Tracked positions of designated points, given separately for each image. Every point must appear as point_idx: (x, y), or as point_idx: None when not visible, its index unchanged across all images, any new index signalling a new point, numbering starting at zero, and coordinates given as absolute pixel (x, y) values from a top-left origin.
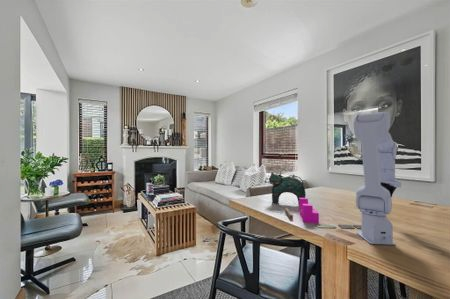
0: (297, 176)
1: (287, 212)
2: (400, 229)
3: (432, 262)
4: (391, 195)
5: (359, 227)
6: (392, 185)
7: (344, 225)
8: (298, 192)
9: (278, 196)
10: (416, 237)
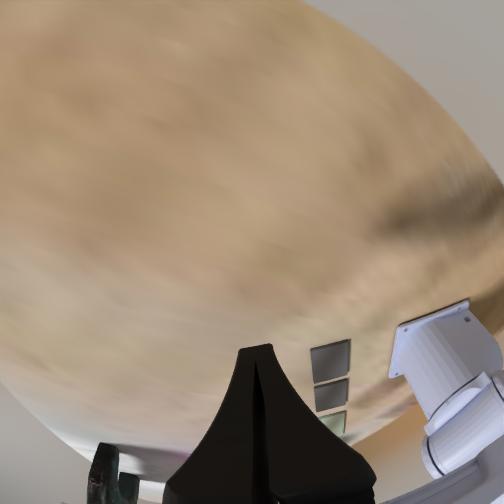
0: None
1: None
2: (329, 222)
3: None
4: (292, 391)
5: (340, 370)
6: (419, 494)
7: (323, 400)
8: (117, 492)
9: (134, 492)
10: (421, 201)
